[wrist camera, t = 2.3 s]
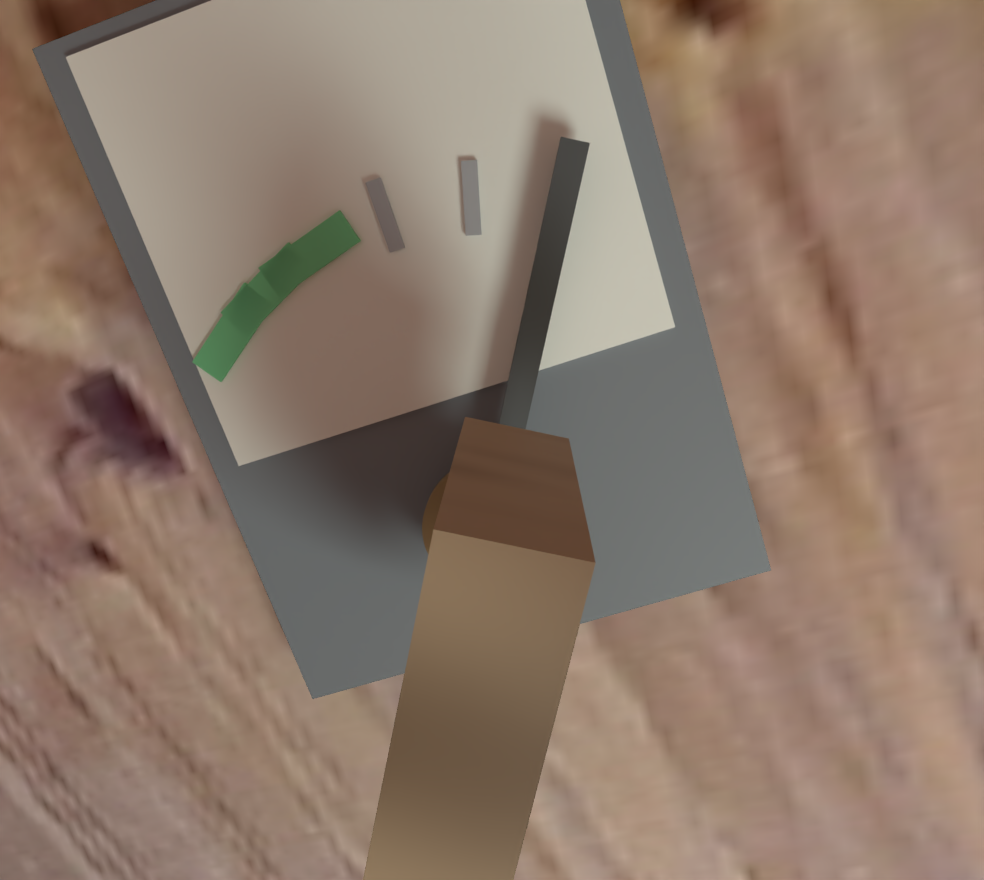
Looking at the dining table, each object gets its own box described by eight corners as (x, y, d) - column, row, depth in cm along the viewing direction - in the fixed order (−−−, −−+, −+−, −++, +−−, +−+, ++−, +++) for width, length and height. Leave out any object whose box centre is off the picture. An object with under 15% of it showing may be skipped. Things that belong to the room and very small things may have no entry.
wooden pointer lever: (527, 648, 24) (532, 948, 14) (403, 623, 23) (320, 907, 14) (647, 156, 20) (765, 100, 10) (501, 125, 20) (482, 38, 10)
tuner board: (324, 672, 26) (310, 705, 25) (64, 59, 22) (23, 46, 20) (756, 549, 25) (774, 575, 23) (572, -138, 20) (576, -172, 19)
